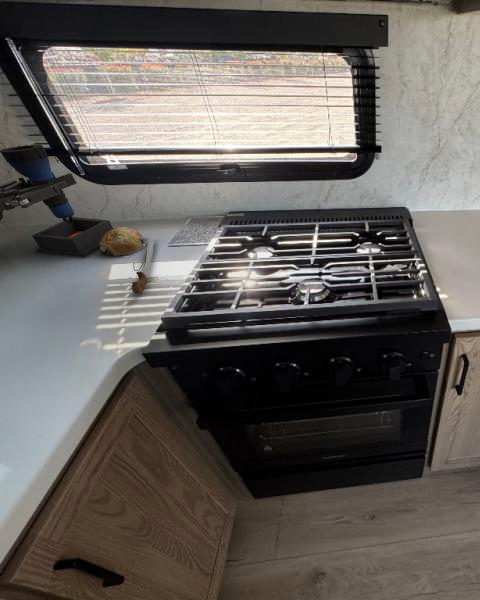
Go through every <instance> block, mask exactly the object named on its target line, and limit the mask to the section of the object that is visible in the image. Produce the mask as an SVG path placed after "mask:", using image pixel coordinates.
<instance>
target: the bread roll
mask: <svg viewBox="0 0 480 600" xmlns="http://www.w3.org/2000/svg"><path fill="white" fill-rule="evenodd" d="M99 244H100V247H101V248H100V252H101V253H102V254H106V255H107V256H114V257H120V256H126V255H130V254H131V255H132V254H133V253H136V252H138V251H140V250H141V249H142V248H145V247H146V244H145V241H144V237H143V235H142V234H141V233H140V232H139V231H138V230H136V229H133V228H131V227H126V226H120V227H115V228H113V229H112V230H110V231H109V232H107V233H106V234H105V235H104V236H103V237H102V240H101V242H100V243H99Z"/></svg>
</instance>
